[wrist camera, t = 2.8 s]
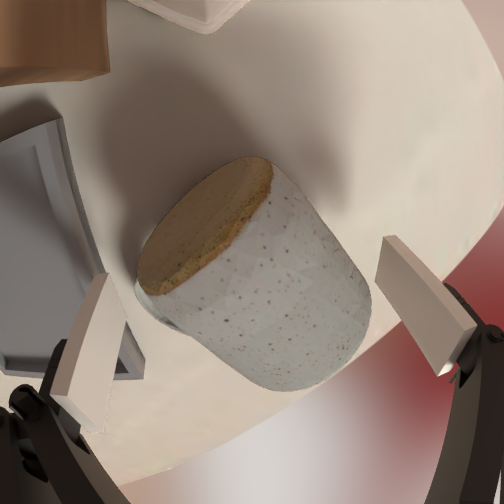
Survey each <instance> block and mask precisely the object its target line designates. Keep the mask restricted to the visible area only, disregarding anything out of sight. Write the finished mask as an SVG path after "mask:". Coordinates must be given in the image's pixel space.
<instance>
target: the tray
mask: <svg viewBox="0 0 504 504" xmlns="http://www.w3.org/2000/svg"><path fill="white" fill-rule="evenodd" d="M103 273H106V272H105V269H104V266H103V264H102V261H101V258H100V256H99V253H98V250H97V247H96V244H95V242H94V239H93V236H92V233H91V230H90V226H89V223H88V220H87V217H86V214H85V210H84V207H83V204H82V200H81V197H80V193H79V189H78V186H77V182H76V178H75V174H74V170H73V166H72V161H71V157H70V152H69V148H68V143H67V138H66V133H65V127H64V122H63V118H59V119H56V120H53V121H50V122H47V123H44V124H41V125H39V126H36V127H34V128H31V129H29V130H27V131H24V132H22V133H20V134H17V135H15V136H13V137H11V138H9V139H6V140H4V141H2V142H0V370H1V371H2V372H3V373H4V374H5V375H10V376H20V377H31V378H44V375H45V372H46V369H47V368H48V364H49V361H50V360H51V355H52V353H53V350H54V348H55V347H56V345H57V344H58V343H59V342H60V340H61V339H68V337H69V335H70V332H71V330H72V327H73V325H74V322H75V320H76V317H77V315H78V312H79V310H80V307H81V305H82V303H83V300H84V298H85V296H86V294H87V291H88V289H89V287H90V285H91V283H92V280H93V278H94V276H95V274H103ZM144 368H145V358H144V356H143V354H142V352H141V350H140V348H139V346H138V344H137V342H136V340H135V338H134V336H133V334H132V332H131V330H130V328H129V326H128V323H127V321H126V323H125V327H124V331H123V336H122V340H121V344H120V349H119V353H118V358H117V363H116V368H115V373H114V378H113V380H137V379H143V377H144Z"/></svg>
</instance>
